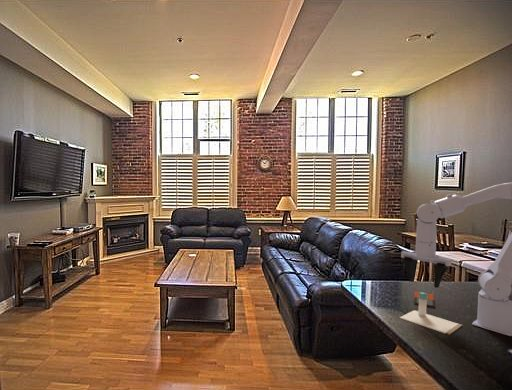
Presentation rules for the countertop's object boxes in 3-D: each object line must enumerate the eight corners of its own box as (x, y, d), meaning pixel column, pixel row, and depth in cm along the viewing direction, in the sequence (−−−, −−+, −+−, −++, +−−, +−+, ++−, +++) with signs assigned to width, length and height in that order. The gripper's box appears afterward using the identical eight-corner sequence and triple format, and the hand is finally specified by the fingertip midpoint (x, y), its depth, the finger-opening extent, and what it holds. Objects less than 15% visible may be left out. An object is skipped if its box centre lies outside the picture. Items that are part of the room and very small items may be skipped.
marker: (427, 315, 102) (428, 293, 102) (424, 317, 101) (426, 295, 100) (419, 313, 104) (420, 291, 104) (416, 315, 102) (417, 293, 102)
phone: (433, 294, 123) (435, 306, 110) (433, 297, 123) (435, 310, 110) (414, 291, 126) (414, 302, 112) (414, 294, 126) (414, 306, 112)
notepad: (462, 325, 96) (462, 324, 96) (449, 335, 90) (449, 333, 90) (414, 311, 107) (414, 310, 107) (399, 318, 100) (399, 317, 100)
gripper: (455, 244, 100) (453, 287, 101) (408, 237, 111) (406, 276, 112) (447, 246, 96) (445, 291, 96) (398, 239, 107) (397, 280, 107)
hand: (423, 283), depth 104 cm, fingers open, 7 cm apart
